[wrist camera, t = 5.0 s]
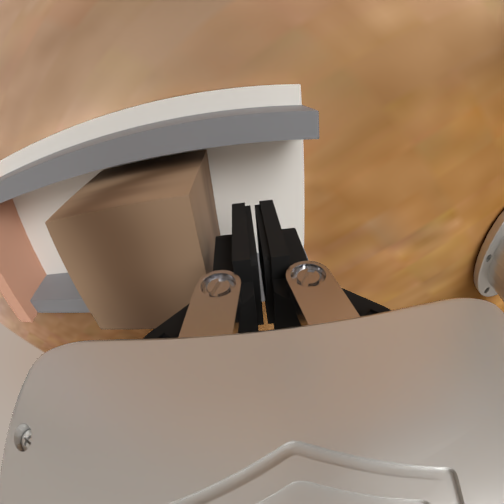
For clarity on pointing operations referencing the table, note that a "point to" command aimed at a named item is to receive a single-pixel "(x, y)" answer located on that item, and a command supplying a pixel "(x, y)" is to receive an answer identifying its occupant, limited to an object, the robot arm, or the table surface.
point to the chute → (144, 148)
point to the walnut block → (139, 239)
